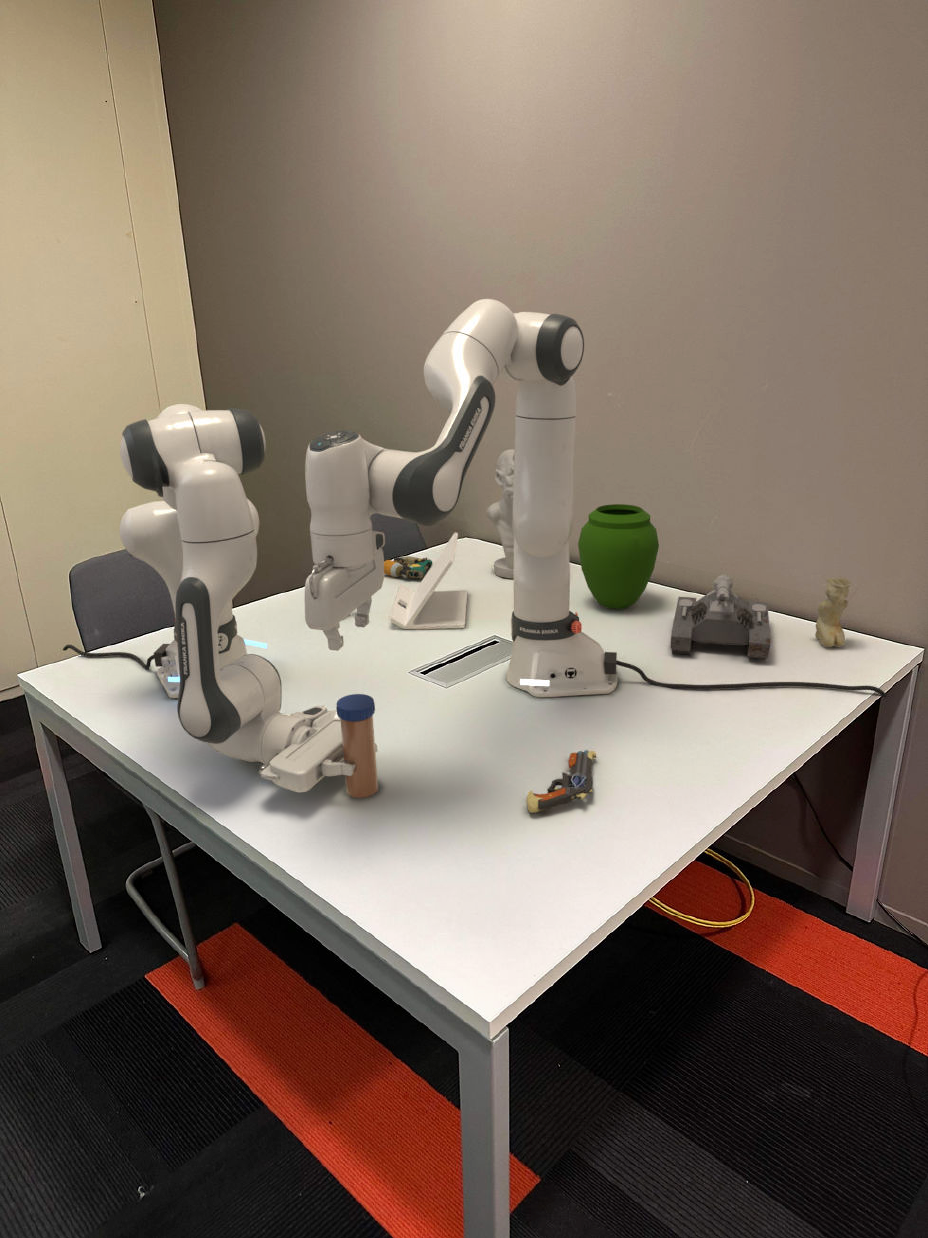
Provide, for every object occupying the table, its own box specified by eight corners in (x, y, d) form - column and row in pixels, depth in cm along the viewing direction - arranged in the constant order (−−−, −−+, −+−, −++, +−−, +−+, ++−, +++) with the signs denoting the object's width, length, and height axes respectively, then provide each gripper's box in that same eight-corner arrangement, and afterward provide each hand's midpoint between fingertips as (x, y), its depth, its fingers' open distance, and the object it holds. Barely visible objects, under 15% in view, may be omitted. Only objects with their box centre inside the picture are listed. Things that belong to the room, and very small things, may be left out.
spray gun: (401, 563, 255) (446, 570, 249) (372, 576, 240) (419, 584, 235) (401, 549, 254) (446, 556, 248) (372, 561, 239) (419, 569, 233)
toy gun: (524, 801, 128) (591, 800, 125) (537, 747, 145) (596, 745, 143) (526, 818, 128) (592, 816, 126) (538, 762, 146) (597, 759, 144)
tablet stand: (467, 593, 225) (465, 531, 219) (465, 628, 202) (462, 559, 196) (399, 594, 226) (395, 532, 220) (388, 629, 203) (384, 560, 197)
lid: (331, 710, 133) (329, 700, 132) (365, 701, 136) (364, 690, 135) (346, 725, 128) (345, 714, 128) (381, 714, 131) (380, 703, 131)
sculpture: (821, 649, 184) (830, 583, 179) (808, 637, 191) (816, 573, 185) (848, 649, 184) (858, 582, 179) (834, 636, 191) (843, 572, 185)
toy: (677, 616, 205) (681, 556, 200) (765, 622, 200) (771, 561, 195) (669, 656, 183) (673, 590, 178) (768, 665, 177) (775, 597, 172)
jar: (341, 787, 138) (333, 702, 133) (369, 777, 140) (363, 694, 135) (354, 801, 134) (347, 715, 128) (383, 791, 136) (377, 706, 131)
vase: (599, 587, 227) (601, 497, 218) (668, 600, 216) (673, 505, 208) (562, 608, 212) (564, 513, 204) (634, 623, 202) (639, 523, 193)
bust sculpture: (503, 593, 225) (502, 460, 212) (483, 567, 247) (480, 445, 234) (562, 587, 228) (563, 456, 215) (536, 562, 250) (536, 441, 237)
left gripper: (250, 756, 130) (326, 774, 125) (324, 701, 148) (394, 714, 142) (255, 792, 133) (330, 810, 127) (327, 733, 150) (396, 747, 144)
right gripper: (331, 570, 113) (339, 666, 118) (389, 531, 131) (394, 615, 136) (288, 567, 114) (298, 661, 119) (351, 529, 133) (357, 612, 138)
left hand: (364, 759), depth 135 cm, fingers closed on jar, 5 cm apart
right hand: (349, 636), depth 128 cm, fingers open, 8 cm apart
